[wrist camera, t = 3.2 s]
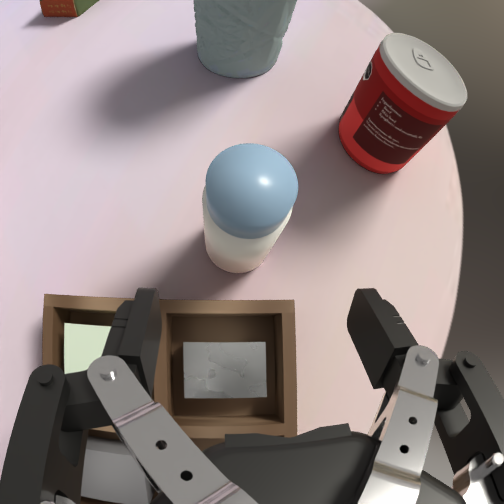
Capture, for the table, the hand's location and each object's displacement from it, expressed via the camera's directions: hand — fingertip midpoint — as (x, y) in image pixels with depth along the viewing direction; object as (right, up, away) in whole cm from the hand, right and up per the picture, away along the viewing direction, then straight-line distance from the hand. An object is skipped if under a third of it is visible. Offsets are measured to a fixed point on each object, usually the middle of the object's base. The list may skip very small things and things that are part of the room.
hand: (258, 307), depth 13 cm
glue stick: (-1, +3, +11) cm, 12 cm away
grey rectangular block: (-2, -6, +8) cm, 10 cm away
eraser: (-10, -13, +5) cm, 17 cm away
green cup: (-2, +24, +17) cm, 29 cm away
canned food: (+11, +13, +16) cm, 23 cm away
